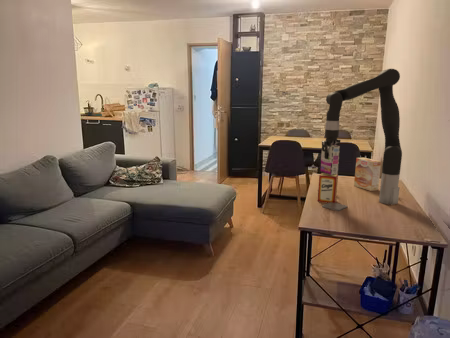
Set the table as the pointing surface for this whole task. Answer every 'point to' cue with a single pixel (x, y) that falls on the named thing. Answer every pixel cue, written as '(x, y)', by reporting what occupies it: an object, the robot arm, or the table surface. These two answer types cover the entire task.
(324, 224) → the table surface
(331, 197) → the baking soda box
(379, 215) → the table surface
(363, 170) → the coffeecake box
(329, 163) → the candy bar box
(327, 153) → the robot arm
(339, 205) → the slate coaster
